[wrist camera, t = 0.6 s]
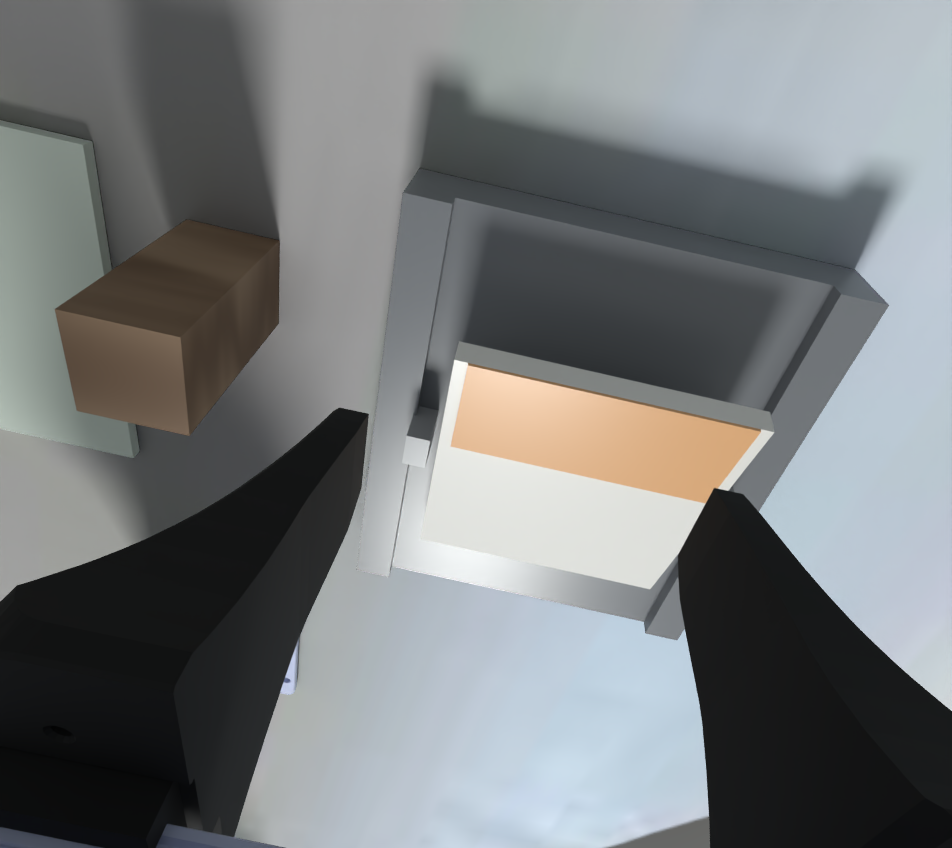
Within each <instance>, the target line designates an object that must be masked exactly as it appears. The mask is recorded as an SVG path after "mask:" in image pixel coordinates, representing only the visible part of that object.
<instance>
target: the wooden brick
mask: <svg viewBox="0 0 952 848" xmlns="http://www.w3.org/2000/svg"><path fill="white" fill-rule="evenodd" d="M279 250H280V241H279V240H275V239H270V238H266V237H262V236H257V235H253V234H249V233H244V232H240V231H235V230H231V229H227V228H222V227H218V226H214V225H209V224H205V223H201V222H196V221H192V220H187V219H186V220H185V221H183V222H182V223H181V224H179V225H178V226H176V227H175V228H173V229H172V230H170V231H169V232H167V233H166V234H164V235H163V236H161V237H160V238H158V239H157V240H156V241H154V242H153V243H151V244H150V245H148V246H147V247H145V248H144V249H142V250H141V251H139V252H138V253H136V254H135V255H133V256H132V257H131V258H129V259H128V260H126V261H125V262H123V263H122V264H120V265H119V266H117V267H116V268H114V269H113V270H111V271H110V272H108V273H107V274H105V275H104V276H103V277H101V278H100V279H98V280H97V281H95V282H94V283H92V284H91V285H89V286H88V287H86V288H85V289H83V290H82V291H80V292H79V293H78V294H76V295H75V296H73V297H72V298H70V299H69V300H67V301H66V302H64V303H63V304H61V305H60V306H58V307H57V308H55V313H56V318H57V323H58V327H59V332H60V336H61V341H62V346H63V350H64V355H65V359H66V364H67V369H68V373H69V378H70V382H71V387H72V392H73V396H74V401H75V405H76V410H77V411H79V412H83V413H88V414H93V415H97V416H102V417H106V418H111V419H115V420H120V421H124V422H129V423H133V424H138V425H142V426H147V427H151V428H156V429H160V430H165V431H169V432H174V433H178V434H183V435H187V436H190V435H191V433H192V432H193V431H194V430H195V428H196V427H197V426H198V425H199V423H200V422H201V421H202V419H203V418H204V417H205V416H206V414H207V413H208V412H209V411H210V409H211V408H212V407H213V406H214V404H215V403H216V402H217V401H218V399H219V398H220V397H221V396H222V394H223V393H224V392H225V390H226V389H227V388H228V387H229V385H230V384H231V383H232V382H233V380H234V379H235V378H236V377H237V375H238V374H239V373H240V372H241V370H242V369H243V368H244V366H245V365H246V364H247V363H248V361H249V360H250V359H251V358H252V356H253V355H254V354H255V353H256V351H257V350H258V349H259V348H260V346H261V345H262V344H263V343H264V341H265V340H266V339H267V337H268V336H269V335H270V334H271V332H272V331H273V330H274V329H275V327H276V326H277V325H278V324H279Z"/></svg>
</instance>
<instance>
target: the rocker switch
mask: <svg viewBox="0 0 952 848" xmlns="http://www.w3.org/2000/svg"><path fill="white" fill-rule="evenodd" d="M773 434H774V428H773V423H772V419H771V414H770V412H768V411H764V410H759V409H755V408H751V407H746V406H742V405H737V404H733V403H729V402H724V401H720V400H715V399H711V398H707V397H702V396H698V395H693V394H689V393H685V392H680V391H676V390H671V389H667V388H663V387H658V386H654V385H649V384H645V383H641V382H636V381H632V380H627V379H623V378H619V377H614V376H610V375H605V374H601V373H597V372H592V371H588V370H583V369H579V368H575V367H570V366H566V365H561V364H557V363H553V362H548V361H544V360H539V359H535V358H531V357H526V356H522V355H517V354H513V353H509V352H504V351H500V350H495V349H491V348H487V347H482V346H478V345H473V344H469V343H465V342H460V341H459V344H458V347H457V351H456V355H455V359H454V364H453V369H452V375H451V380H450V385H449V390H448V396H447V401H446V406H445V411H444V417H443V422H442V427H441V432H440V438H439V443H438V448H437V453H436V459H435V464H434V469H433V474H432V480H431V485H430V490H429V495H428V501H427V506H426V511H425V516H424V522H423V527H422V532H421V537H420V539H424V540H428V541H433V542H437V543H442V544H446V545H451V546H455V547H460V548H465V549H469V550H474V551H478V552H483V553H487V554H492V555H496V556H501V557H505V558H510V559H515V560H519V561H524V562H528V563H533V564H537V565H542V566H546V567H551V568H555V569H560V570H565V571H569V572H574V573H578V574H583V575H587V576H592V577H596V578H601V579H605V580H610V581H614V582H619V583H624V584H628V585H633V586H637V587H642V588H646V589H651V588H652V586H653V585H654V584H655V583H656V581H657V580H658V579H659V578H660V576H661V575H662V574H663V573H664V571H665V570H666V569H667V568H668V566H669V565H670V564H671V562H672V561H673V560H674V559H675V557H676V556H677V555H678V554H679V552H680V550H681V548H682V546H683V545H684V543H685V541H686V539H687V537H688V535H689V533H690V532H691V530H692V528H693V526H694V524H695V522H696V520H697V519H698V517H699V515H700V513H701V511H702V509H703V508H704V506H705V504H706V502H707V500H708V498H709V496H710V495H711V493H712V491H713V489H714V488H717V489H722V490H727V491H728V490H729V489H730V488H731V487H732V485H733V484H734V483H735V482H736V480H737V479H738V478H739V477H740V475H741V474H742V473H743V471H744V470H745V469H746V468H747V466H748V465H749V464H750V463H751V461H752V460H753V459H754V458H755V456H756V455H757V454H758V452H759V451H760V450H761V449H762V447H763V446H764V445H765V444H766V442H767V441H768V440H769V439H770V437H771V436H772V435H773Z"/></svg>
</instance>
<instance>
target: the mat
mask: <svg viewBox="0 0 952 848" xmlns="http://www.w3.org/2000/svg"><path fill="white" fill-rule="evenodd" d="M111 270H112V267H111V260H110V254H109V247H108V241H107V234H106V228H105V221H104V215H103V208H102V201H101V195H100V188H99V182H98V175H97V169H96V162H95V156H94V149H93V142H92V141H89V140H84V139H80V138H76V137H71V136H67V135H63V134H58V133H54V132H50V131H45V130H41V129H37V128H32V127H28V126H24V125H19V124H15V123H11V122H6V121H2V120H0V429H3V430H7V431H12V432H16V433H21V434H26V435H30V436H35V437H39V438H44V439H48V440H53V441H57V442H62V443H66V444H71V445H75V446H80V447H84V448H89V449H94V450H98V451H103V452H107V453H112V454H116V455H121V456H125V457H130V458H134V457H135V456H136V455H137V454H138V453H139V451H140V450H139V444H138V437H137V431H136V424H133V423H129V422H124V421H120V420H115V419H111V418H106V417H102V416H97V415H93V414H88V413H83V412H79V411H77V410H76V405H75V401H74V396H73V392H72V387H71V382H70V378H69V373H68V369H67V364H66V359H65V355H64V350H63V346H62V341H61V336H60V332H59V327H58V323H57V318H56V313H55V308H57V307H58V306H60V305H61V304H63V303H64V302H66V301H67V300H69V299H70V298H72V297H73V296H75V295H76V294H78V293H79V292H80V291H82V290H83V289H85V288H86V287H88V286H89V285H91V284H92V283H94V282H95V281H97V280H98V279H100V278H101V277H103V276H104V275H105V274H107V273H108V272H110V271H111Z"/></svg>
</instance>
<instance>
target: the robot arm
mask: <svg viewBox="0 0 952 848" xmlns="http://www.w3.org/2000/svg"><path fill="white" fill-rule="evenodd" d="M368 416H369V414H367V413H362V412H357V411H353V410H348V409H343V408H338V409H336V410H335V411H333V412H332V413H331V414H330V415H329V416H328V417H327V418H326V419H325V420H324V421H322V422H321V423H320V424H319V425H318V426H317V427H316V428H315V429H314V430H313V431H311V432H310V433H309V434H308V435H307V436H306V437H304V438H303V439H302V440H301V441H300V442H299V443H298V444H296V445H295V446H294V447H293V448H291V449H290V450H289V451H288V452H286V453H285V454H284V455H283V456H281V457H280V458H279V459H278V460H276V461H275V462H274V463H273V464H271V465H270V466H269V467H267V468H266V469H264V470H263V471H262V472H260V473H259V474H257V475H256V476H255V477H253V478H252V479H250V480H249V481H248V482H246V483H245V484H243V485H242V486H241V487H239V488H238V489H236V490H235V491H233V492H232V493H230V494H228V495H227V496H225V497H224V498H222V499H220V500H219V501H217V502H216V503H214V504H212V505H210V506H209V507H207V508H205V509H204V510H202V511H200V512H199V513H197V514H195V515H193V516H191V517H189V518H187V519H185V520H184V521H182V522H180V523H178V524H176V525H174V526H172V527H170V528H168V529H166V530H164V531H162V532H160V533H158V534H156V535H154V536H152V537H149V538H147V539H145V540H143V541H140V542H138V543H136V544H133V545H131V546H129V547H126V548H124V549H122V550H119V551H116V552H114V553H111V554H109V555H106V556H104V557H101V558H99V559H96V560H93V561H91V562H88V563H85V564H82V565H80V566H77V567H73V568H70V569H67V570H64V571H61V572H58V573H55V574H52V575H49V576H46V577H43V578H40V579H37V580H34V581H31V582H27V583H24V584H21V585H17V586H16V587H15V588H14V589H13V590H12V591H11V592H10V593H9V594H8V595H7V596H6V597H5V598H4V599H3V600H2V601H1V602H0V848H284V847H279V846H274V845H269V844H264V843H260V842H255V841H250V840H245V839H240V838H236V837H235V836H234V835H235V832H236V829H237V825H238V822H239V819H240V816H241V812H242V809H243V806H244V802H245V799H246V796H247V793H248V789H249V786H250V783H251V780H252V777H253V774H254V770H255V767H256V764H257V761H258V758H259V755H260V752H261V749H262V746H263V742H264V739H265V736H266V733H267V730H268V727H269V724H270V721H271V718H272V715H273V712H274V709H275V706H276V703H277V700H278V697H279V694H280V693H282V694H288V695H289V694H293V693H294V691H295V689H296V686H297V665H298V644H299V636H300V634H301V632H302V629H303V627H304V624H305V622H306V619H307V617H308V615H309V613H310V611H311V609H312V606H313V604H314V602H315V600H316V598H317V596H318V594H319V591H320V589H321V587H322V585H323V583H324V581H325V579H326V576H327V574H328V572H329V570H330V568H331V566H332V563H333V561H334V559H335V557H336V555H337V553H338V550H339V548H340V546H341V544H342V542H343V539H344V537H345V535H346V533H347V531H348V528H349V525H350V522H351V519H352V516H353V513H354V510H355V506H356V503H357V500H358V497H359V494H360V490H361V486H362V476H363V466H364V456H365V446H366V436H367V426H368ZM678 580H679V595H680V604H681V610H682V615H683V621H684V626H685V631H686V637H687V642H688V647H689V652H690V657H691V662H692V667H693V672H694V677H695V683H696V688H697V693H698V698H699V704H700V710H701V717H702V724H703V735H704V747H705V759H706V770H707V787H708V804H709V820H710V848H952V711H951V710H950V709H948V708H947V707H946V706H945V705H943V704H942V703H941V702H940V701H939V700H937V699H936V698H935V697H934V696H933V695H931V694H930V693H929V692H928V691H927V690H925V689H924V688H923V687H922V686H921V685H920V684H918V683H917V682H916V681H915V680H914V679H912V678H911V677H910V676H909V675H908V674H907V673H906V672H904V671H903V670H902V669H901V668H900V667H899V666H898V665H897V664H895V663H894V662H893V661H892V660H891V659H890V658H889V657H888V656H887V655H886V654H885V653H884V652H883V651H882V650H881V649H880V648H879V647H878V646H876V645H875V644H874V643H873V642H872V641H871V640H870V639H869V638H868V637H867V636H866V635H865V634H864V633H863V632H862V631H861V630H860V629H859V628H858V627H857V626H856V625H855V624H854V623H853V622H852V621H851V620H850V619H849V618H848V617H847V616H846V614H845V613H844V612H843V611H842V610H841V609H840V608H839V607H838V606H837V605H836V604H835V603H834V601H833V600H832V599H831V598H830V597H829V596H828V595H827V594H826V593H825V592H824V590H823V589H822V588H821V587H820V586H819V585H818V584H817V582H816V581H815V580H814V579H813V578H812V577H811V575H810V574H809V573H808V572H807V571H806V570H805V568H804V567H803V566H802V565H801V564H800V562H799V561H798V560H797V559H796V558H795V556H794V555H793V554H792V553H791V551H790V550H789V549H788V548H787V547H786V545H785V544H784V543H783V542H782V540H781V539H780V538H779V537H778V535H777V534H776V533H775V532H774V530H773V529H772V528H771V527H770V525H769V524H768V523H767V522H766V520H765V519H764V518H763V517H762V515H761V514H760V513H759V512H758V511H757V509H756V508H755V507H754V506H753V505H752V503H751V502H750V501H749V500H748V499H747V498H746V497H745V495H744V494H741V493H736V492H731V491H727V490H722V489H717V488H714V489H713V491H712V493H711V495H710V496H709V498H708V500H707V502H706V504H705V506H704V508H703V509H702V511H701V513H700V515H699V517H698V519H697V520H696V522H695V524H694V526H693V528H692V530H691V532H690V533H689V535H688V537H687V539H686V541H685V543H684V545H683V546H682V548H681V550H680V552H679V554H678Z"/></svg>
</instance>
